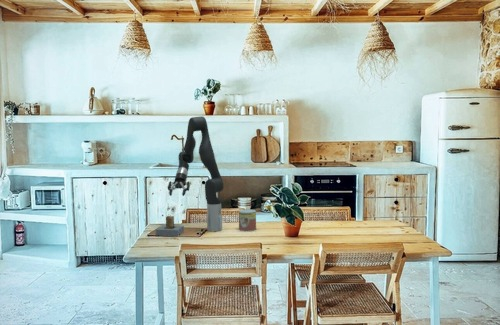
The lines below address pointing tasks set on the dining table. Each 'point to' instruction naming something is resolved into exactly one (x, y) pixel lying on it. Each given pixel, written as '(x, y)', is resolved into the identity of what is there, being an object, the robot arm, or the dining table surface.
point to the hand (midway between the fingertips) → (176, 195)
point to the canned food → (247, 220)
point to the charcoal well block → (169, 231)
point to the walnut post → (170, 222)
